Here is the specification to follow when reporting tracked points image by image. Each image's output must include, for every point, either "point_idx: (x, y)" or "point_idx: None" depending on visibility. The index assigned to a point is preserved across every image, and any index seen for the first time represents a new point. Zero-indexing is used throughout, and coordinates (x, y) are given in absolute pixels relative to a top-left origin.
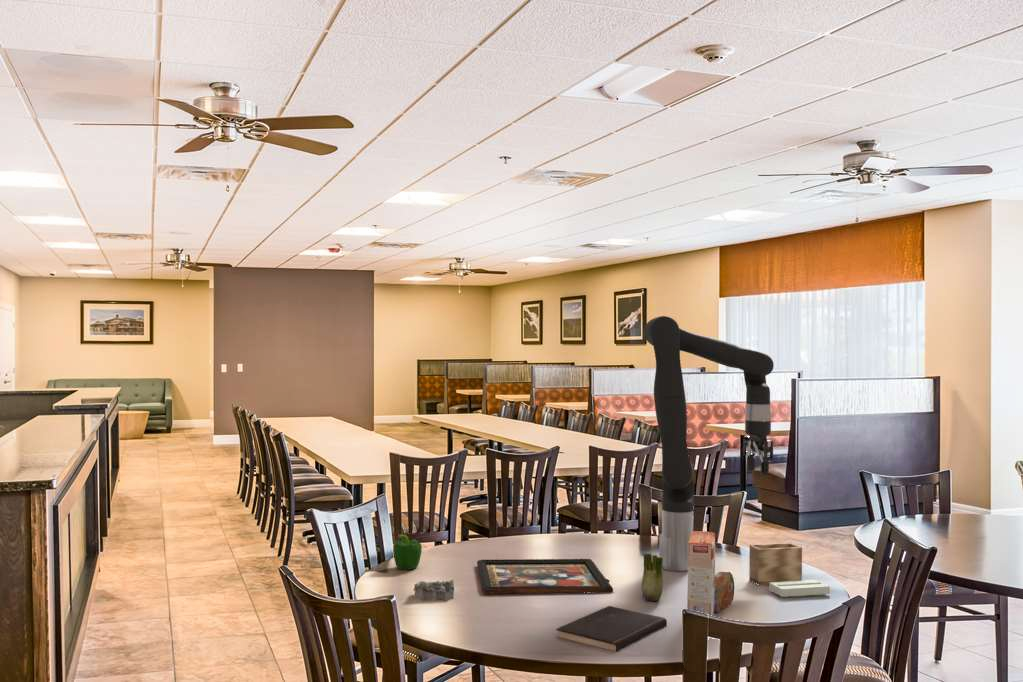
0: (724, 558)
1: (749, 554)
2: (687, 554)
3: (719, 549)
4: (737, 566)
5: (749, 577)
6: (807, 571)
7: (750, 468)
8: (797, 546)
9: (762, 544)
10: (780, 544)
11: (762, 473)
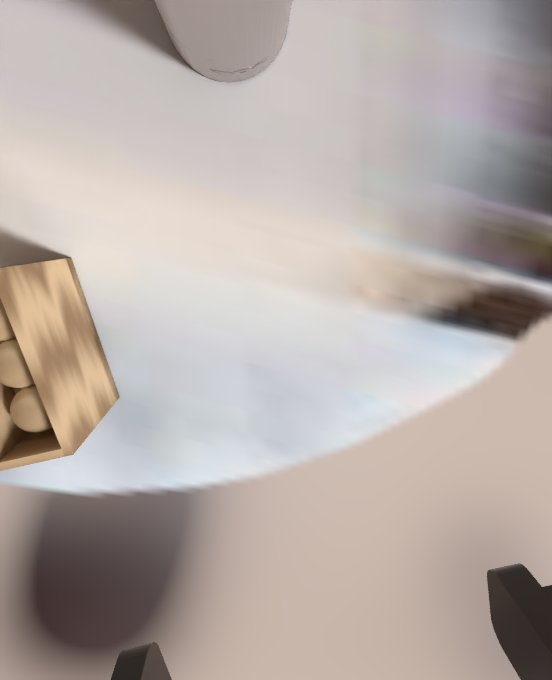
0: (371, 247)
1: (23, 264)
2: (159, 11)
3: (504, 263)
4: (257, 265)
5: (66, 258)
6: (204, 464)
7: (503, 611)
8: (7, 461)
9: (18, 329)
10: (47, 407)
11: (123, 661)
